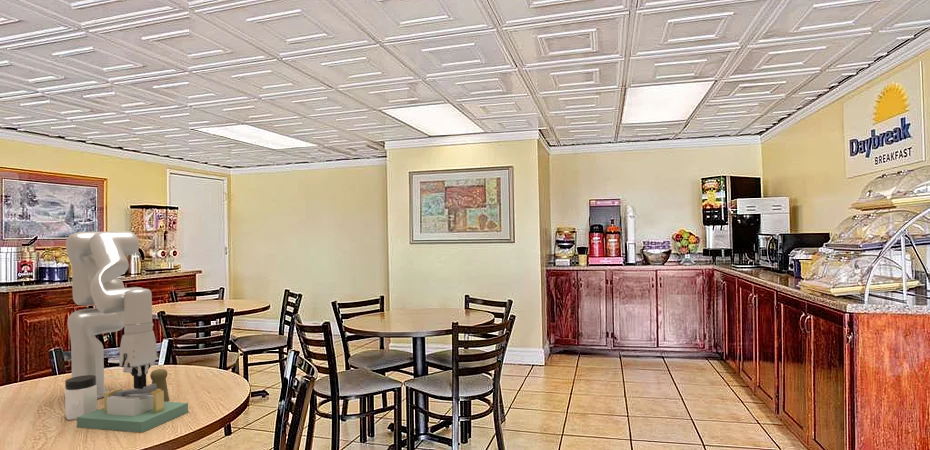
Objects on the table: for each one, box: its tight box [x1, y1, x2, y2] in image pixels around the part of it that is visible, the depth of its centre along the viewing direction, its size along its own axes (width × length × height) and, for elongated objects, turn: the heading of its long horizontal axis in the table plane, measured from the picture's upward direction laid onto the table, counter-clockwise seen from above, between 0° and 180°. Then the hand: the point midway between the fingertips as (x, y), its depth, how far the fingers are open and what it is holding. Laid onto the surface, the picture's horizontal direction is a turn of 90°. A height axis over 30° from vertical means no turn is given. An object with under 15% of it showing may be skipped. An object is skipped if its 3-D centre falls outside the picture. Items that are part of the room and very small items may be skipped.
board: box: [76, 388, 189, 433], centre depth 169 cm, size 24×18×8 cm
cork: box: [149, 368, 170, 402], centre depth 188 cm, size 6×6×11 cm
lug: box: [151, 389, 164, 413], centre depth 167 cm, size 2×3×6 cm, turn 165°
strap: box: [114, 383, 157, 396], centre depth 169 cm, size 13×3×2 cm, turn 75°
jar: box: [64, 375, 98, 421], centre depth 175 cm, size 9×8×12 cm
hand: (140, 387), depth 169 cm, fingers closed
